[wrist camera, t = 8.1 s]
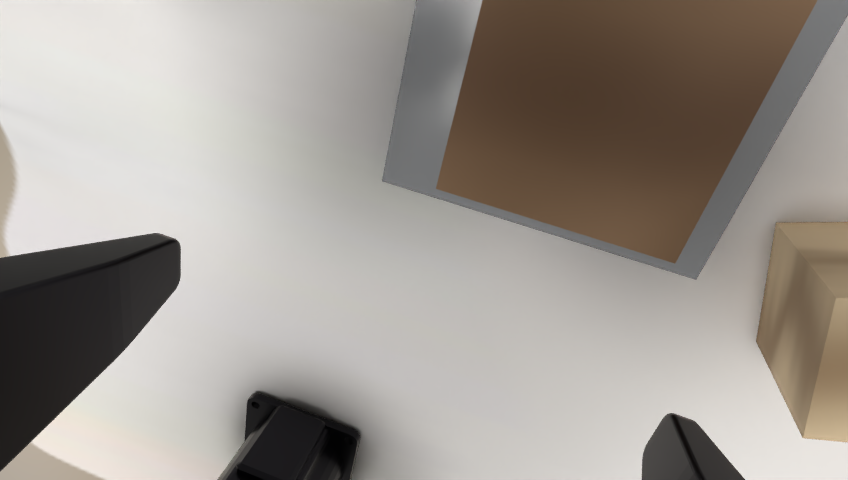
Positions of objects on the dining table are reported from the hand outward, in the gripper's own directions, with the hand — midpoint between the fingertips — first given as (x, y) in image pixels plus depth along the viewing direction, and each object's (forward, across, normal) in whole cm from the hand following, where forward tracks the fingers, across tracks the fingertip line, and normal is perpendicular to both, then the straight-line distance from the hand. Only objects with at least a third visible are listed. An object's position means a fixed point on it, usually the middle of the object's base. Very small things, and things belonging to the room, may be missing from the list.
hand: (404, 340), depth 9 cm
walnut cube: (+11, -2, -4) cm, 12 cm away
